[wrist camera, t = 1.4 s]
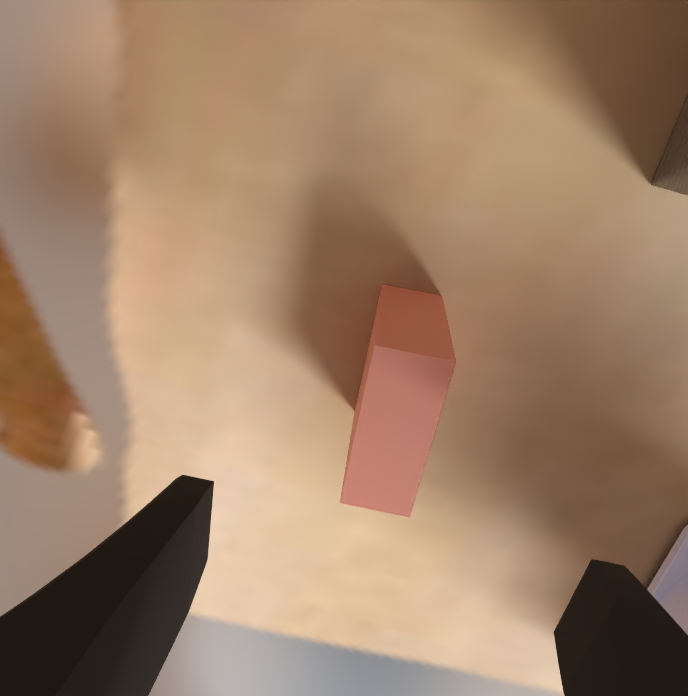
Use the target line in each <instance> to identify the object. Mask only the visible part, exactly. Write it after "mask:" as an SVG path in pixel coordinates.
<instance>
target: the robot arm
mask: <svg viewBox="0 0 688 696" xmlns="http://www.w3.org/2000/svg"><path fill="white" fill-rule="evenodd" d="M213 486H214V481H210V480H205V479H200V478H195V477H190V476H186V475H182V476H180V477H178V478H176V479H175V480H174V481H173V482H172V483H171V484H170V485H169V486H168V487H166V488H165V489H164V490H163V491H162V492H161V493H160V494H159V495H158V496H156V497H155V498H154V499H153V500H152V501H151V502H150V503H148V504H147V505H146V506H145V507H144V508H143V509H142V510H140V511H139V512H138V513H137V514H136V515H135V516H133V517H132V518H131V519H130V520H129V521H128V522H126V523H125V524H124V525H123V526H122V527H120V528H119V529H118V530H117V531H115V532H114V533H113V534H112V535H110V536H109V537H108V538H107V539H105V540H104V541H103V542H102V543H101V544H99V545H98V546H97V547H96V548H94V549H93V550H92V551H91V552H89V553H88V554H87V555H86V556H84V557H83V558H82V559H80V560H79V561H78V562H77V563H75V564H74V565H73V566H71V567H70V568H68V569H67V570H65V571H64V572H63V573H61V574H60V575H59V576H57V577H56V578H55V579H53V580H52V581H51V582H49V583H48V584H47V585H45V586H44V587H42V588H41V589H40V590H38V591H37V592H36V593H34V594H33V595H32V596H30V597H28V598H27V599H26V600H24V601H23V602H21V603H20V604H18V605H17V606H15V607H14V608H13V609H11V610H10V611H8V612H7V613H5V614H4V615H2V616H1V617H0V696H148V695H149V693H150V691H151V689H152V687H153V685H154V683H155V681H156V679H157V676H158V674H159V672H160V670H161V668H162V666H163V664H164V662H165V660H166V658H167V656H168V653H169V652H170V650H171V648H172V646H173V643H174V641H175V639H176V637H177V635H178V633H179V631H180V629H181V627H182V625H183V623H184V621H185V618H186V616H187V614H188V612H189V609H190V606H191V604H192V601H193V598H194V596H195V593H196V590H197V588H198V585H199V582H200V579H201V576H202V573H203V571H204V568H205V565H206V562H207V558H208V546H209V534H210V522H211V510H212V498H213ZM554 636H555V643H556V650H557V656H558V663H559V669H560V674H561V680H562V686H563V691H564V695H565V696H688V525H687V526H686V527H685V528H684V529H683V531H682V532H681V534H680V536H679V537H678V539H677V541H676V542H675V544H674V546H673V547H672V549H671V551H670V552H669V554H668V556H667V557H666V559H665V560H664V562H663V564H662V565H661V567H660V569H659V570H658V572H657V574H656V575H655V577H654V579H653V580H652V582H651V584H650V585H649V587H648V589H646V588H645V587H644V586H643V585H642V584H641V583H640V582H639V581H638V579H637V578H636V577H635V576H634V575H633V574H632V573H631V572H630V571H629V570H628V569H627V568H626V567H625V566H623V565H618V564H613V563H608V562H603V561H599V560H594V559H592V560H591V561H590V563H589V565H588V567H587V569H586V571H585V573H584V575H583V577H582V579H581V581H580V583H579V585H578V587H577V588H576V590H575V592H574V594H573V596H572V598H571V600H570V602H569V604H568V606H567V608H566V610H565V612H564V613H563V615H562V617H561V619H560V621H559V623H558V625H557V627H556V629H555V631H554Z"/></svg>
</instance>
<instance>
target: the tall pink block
mask: <svg viewBox="0 0 688 696" xmlns="http://www.w3.org/2000/svg"><path fill="white" fill-rule="evenodd" d="M455 363H456V359H455V355H454V350H453V345H452V341H451V336H450V331H449V327H448V322H447V317H446V313H445V308H444V304H443V299H442V296H441V295H436V294H431V293H426V292H420V291H415V290H410V289H405V288H400V287H395V286H390V285H385V284H382V286H381V291H380V296H379V300H378V305H377V310H376V314H375V319H374V324H373V328H372V333H371V338H370V342H369V347H368V352H367V356H366V361H365V366H364V370H363V375H362V380H361V384H360V389H359V394H358V398H357V403H356V408H355V413H354V419H353V425H352V432H351V438H350V444H349V450H348V456H347V463H346V469H345V475H344V481H343V488H342V494H341V500H340V503H343V504H348V505H353V506H358V507H362V508H367V509H372V510H377V511H382V512H386V513H391V514H396V515H401V516H406V517H410V514H411V511H412V507H413V504H414V501H415V497H416V494H417V491H418V487H419V484H420V481H421V477H422V474H423V470H424V467H425V464H426V460H427V457H428V454H429V450H430V447H431V444H432V440H433V437H434V434H435V430H436V427H437V424H438V420H439V417H440V414H441V410H442V407H443V403H444V400H445V397H446V393H447V390H448V387H449V383H450V380H451V377H452V373H453V370H454V367H455Z"/></svg>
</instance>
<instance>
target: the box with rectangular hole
mask: <svg viewBox="0 0 688 696" xmlns="http://www.w3.org/2000/svg"><path fill="white" fill-rule="evenodd" d="M651 185H654V186H657V187H661V188H664V189H668V190H671V191H675V192H678V193H682V194H685V195H688V96H687V99H686V101H685V104H684V106H683V109H682V111H681V113H680V116H679V118H678V121H677V123H676V126H675V128H674V130H673V133H672V135H671V138H670V140H669V143H668V145H667V147H666V150H665V152H664V155H663V157H662V160H661V162H660V164H659V167H658V169H657V172H656V174H655V177H654V179H653V181H652V184H651Z"/></svg>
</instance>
